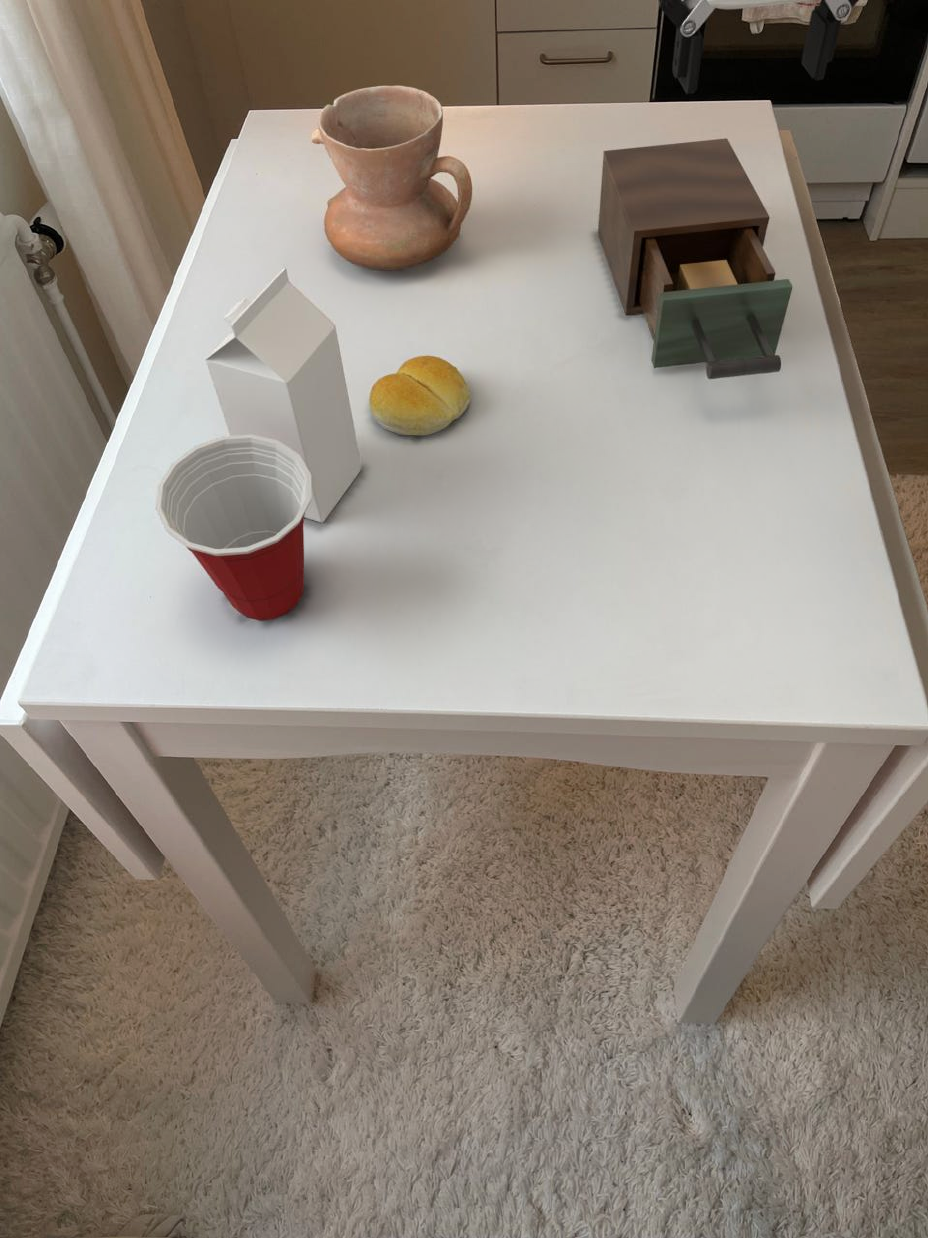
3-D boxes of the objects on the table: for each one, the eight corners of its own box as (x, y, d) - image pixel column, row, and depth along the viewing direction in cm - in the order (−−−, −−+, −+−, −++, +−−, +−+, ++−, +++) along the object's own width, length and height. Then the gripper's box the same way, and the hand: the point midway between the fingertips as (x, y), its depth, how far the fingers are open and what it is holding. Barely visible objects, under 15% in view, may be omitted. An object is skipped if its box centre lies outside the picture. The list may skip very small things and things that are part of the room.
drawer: (799, 406, 84) (820, 338, 78) (672, 420, 84) (683, 352, 78) (735, 271, 96) (749, 202, 91) (623, 282, 96) (630, 215, 90)
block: (718, 300, 92) (726, 259, 88) (731, 328, 89) (739, 287, 86) (673, 304, 92) (679, 264, 88) (684, 333, 89) (691, 292, 86)
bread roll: (354, 411, 88) (348, 377, 85) (427, 366, 91) (423, 331, 88) (413, 455, 84) (409, 420, 81) (486, 406, 87) (485, 371, 84)
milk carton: (363, 469, 83) (327, 277, 68) (322, 525, 80) (275, 336, 64) (293, 447, 85) (243, 257, 70) (250, 501, 82) (188, 312, 66)
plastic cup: (246, 674, 71) (203, 572, 61) (176, 588, 76) (126, 482, 67) (364, 598, 75) (341, 491, 65) (290, 521, 80) (258, 412, 70)
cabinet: (750, 302, 95) (770, 216, 87) (625, 315, 94) (634, 230, 87) (712, 221, 103) (727, 137, 96) (597, 233, 103) (603, 150, 96)
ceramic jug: (293, 262, 103) (265, 129, 91) (366, 196, 110) (348, 65, 98) (437, 306, 97) (426, 170, 85) (504, 233, 104) (502, 99, 93)
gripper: (675, -184, 56) (647, 114, 70) (962, -213, 57) (879, 89, 70) (647, -216, 61) (626, 69, 75) (913, -243, 61) (844, 46, 75)
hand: (749, 78), depth 72 cm, fingers open, 9 cm apart
